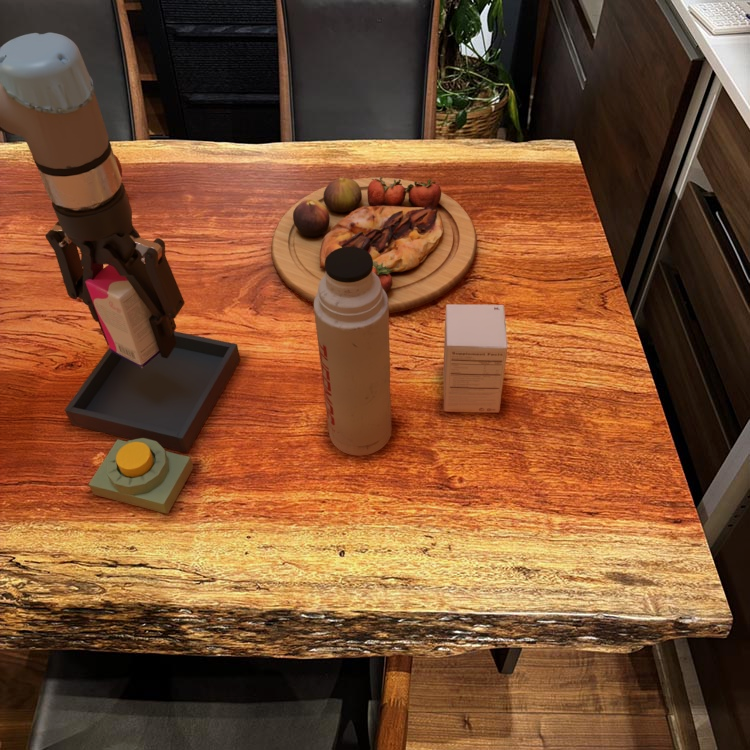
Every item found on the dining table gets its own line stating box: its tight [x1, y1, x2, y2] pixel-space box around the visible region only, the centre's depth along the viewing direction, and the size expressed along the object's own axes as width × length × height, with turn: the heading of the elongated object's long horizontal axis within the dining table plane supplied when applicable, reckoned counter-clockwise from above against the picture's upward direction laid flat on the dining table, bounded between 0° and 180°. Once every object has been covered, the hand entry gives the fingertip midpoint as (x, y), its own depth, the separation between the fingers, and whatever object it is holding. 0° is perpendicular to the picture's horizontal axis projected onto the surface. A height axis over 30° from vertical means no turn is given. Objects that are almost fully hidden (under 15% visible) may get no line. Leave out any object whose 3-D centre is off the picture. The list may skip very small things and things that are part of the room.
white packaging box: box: [442, 303, 509, 414], centre depth 101 cm, size 7×7×13 cm
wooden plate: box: [270, 176, 478, 314], centre depth 123 cm, size 32×32×8 cm
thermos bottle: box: [313, 247, 393, 457], centre depth 91 cm, size 8×8×28 cm
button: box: [116, 442, 154, 478], centre depth 94 cm, size 4×4×2 cm
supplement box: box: [85, 264, 160, 368], centre depth 96 cm, size 6×6×12 cm
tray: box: [64, 330, 241, 454], centre depth 106 cm, size 17×17×3 cm
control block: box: [88, 438, 194, 515], centre depth 96 cm, size 10×7×4 cm
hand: (142, 344), depth 100 cm, fingers closed on supplement box, 7 cm apart
